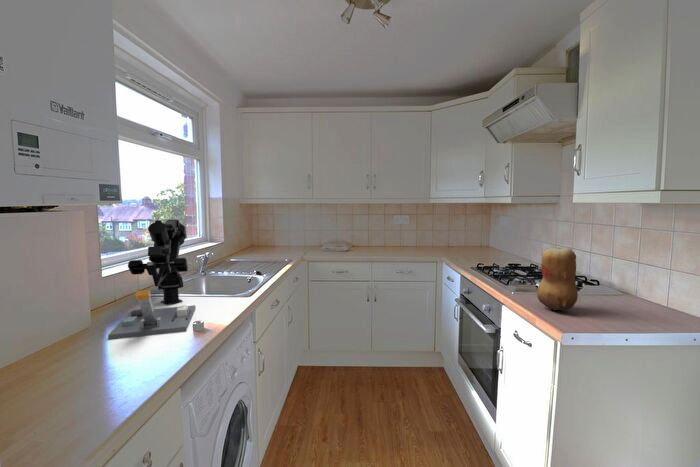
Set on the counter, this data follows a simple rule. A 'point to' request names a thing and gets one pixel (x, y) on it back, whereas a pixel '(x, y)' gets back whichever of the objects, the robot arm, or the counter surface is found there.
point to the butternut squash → (558, 279)
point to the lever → (146, 307)
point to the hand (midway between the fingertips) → (156, 285)
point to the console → (165, 324)
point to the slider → (182, 312)
